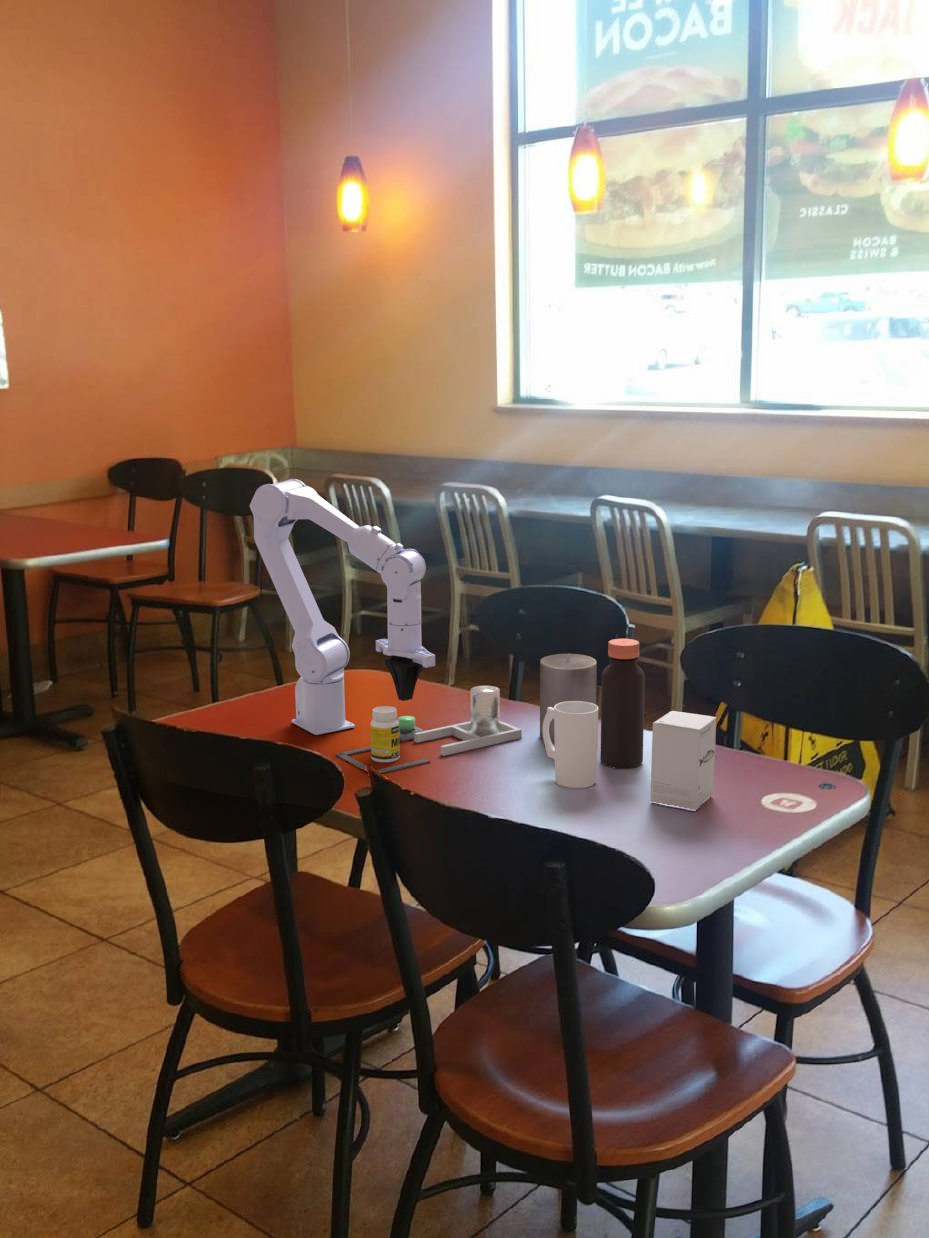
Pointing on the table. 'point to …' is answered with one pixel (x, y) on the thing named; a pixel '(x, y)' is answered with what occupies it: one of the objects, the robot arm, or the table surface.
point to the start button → (406, 723)
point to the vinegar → (622, 706)
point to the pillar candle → (565, 683)
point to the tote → (346, 757)
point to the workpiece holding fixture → (468, 737)
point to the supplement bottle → (385, 734)
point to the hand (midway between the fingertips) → (405, 699)
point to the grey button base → (409, 734)
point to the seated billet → (485, 710)
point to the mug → (573, 742)
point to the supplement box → (683, 759)
